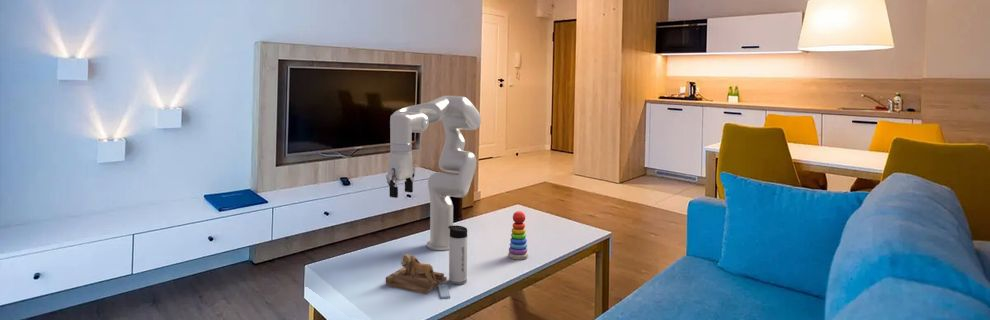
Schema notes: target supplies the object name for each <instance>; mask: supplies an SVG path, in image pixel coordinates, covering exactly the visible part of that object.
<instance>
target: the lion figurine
mask: <svg viewBox="0 0 990 320" xmlns="http://www.w3.org/2000/svg"><path fill="white" fill-rule="evenodd" d="M400 265H401V267H402V268H403V267H405V268H406V269H408V271H410V272H411V275H412V278H417V273H420V274H423V273H425V275H426V277H427V278H428V279H429V280H428V281H431V282H432V285H433V279H432V274H433V277H434V279H435V281H436V282H437V283H440V282H439V281H437V280H436V278H435V275H434V272H435V271H434V267H433V266H432V264H430V263H422V262H420V261H419V259H418V258H416V257H415V256H414V255H412V254H409V253H406V254H403V255H402V261H401V262H400Z"/></svg>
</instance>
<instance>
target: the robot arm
mask: <svg viewBox="0 0 990 320" xmlns="http://www.w3.org/2000/svg"><path fill="white" fill-rule="evenodd" d="M479 112H480V111H478V109H477V108H476V107H475V105H474V104H473V102H471V100H470V99H469V98H467V97H465V96H462V95H460V96H459V95H442V96H439V97H437V98H434V100H431V101H429V102H424V103H423V102H422V103H419V104H414V105H410V106H405V107H403V108H400V109H397V110H396V111H394V112H393V113H392V114H391V115H390V120H389V124H390V125H389V128H390V132H389V133H390V134H389V135H390V139H389V141H390V147H389V148H390V152H389V155H388V163H387V165H388V166H387V174H386V175H385V179H386V183H387V185H388V187H389V189H388V190H389V197H390V198H393V199H394V198H395V199H397V198H399V186H398V185H399V181H400V182H401V181H404V192H405V193H410V194H411V193H413V191H414V186H413V185H414V180H415V179H414V178H415V175H416V174H415V173H416V168H415V167H414V163H413V162H414V161H413V152H412V151H413V149H412V148H413V147H412V145H413V140H412V138H413V135H412V133H418V134H420V133H424V132H425V131H426V130H427V129H428V127H429V125H431V124H436V123H439V122H440V121H442V125H443V129H444V133H445V142H444V146H443V148H442V151H441V154H440V157H439V159H438V167H439V169H440V170H441V171H442V172H441V171H437V172H433V173H432V174H430V175H429V177H428V179H427V189H428V193H429V202H430V203H429V206H430V207H429V208H430V209H429V210H430V211H429V212H430V213H429V217H430V219H429V225H430V226H429V228H430V229H429V230H430V231H429V236H430V237H429V239H430V240H428V241H427V242H426V247H427V248H428V249H430V250H433V251H449V238H450V237H449V236H450V228H449V226H454V204H453V201H452V199H451V197H454V198H465V197H466V196H467V194H468V193H469V191H470V187H471V185H472V181H473V178H474V174H475V172H476V168H477V158H476V155H475V154H474V153H473V152H471V151H468V150H465V146H466V141H465V140H466V139H465V138H464V136H463V133H462V132H461V130H466V131H475V130H478V129H479V127H480V126H481V123H482V117H481V114H480V113H479ZM448 228H449V229H448Z"/></svg>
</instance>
